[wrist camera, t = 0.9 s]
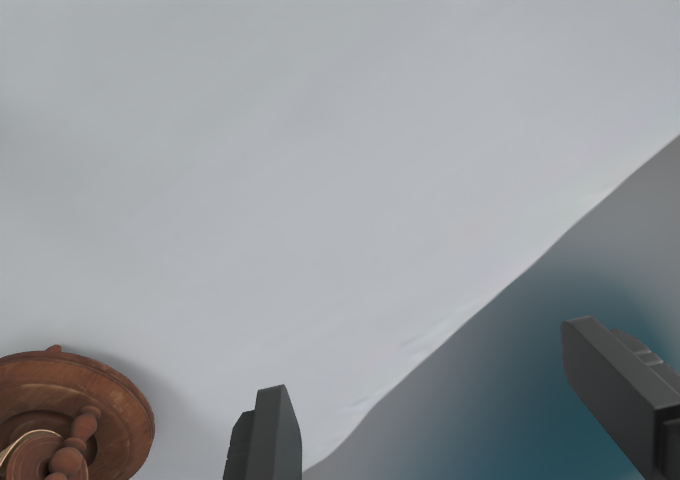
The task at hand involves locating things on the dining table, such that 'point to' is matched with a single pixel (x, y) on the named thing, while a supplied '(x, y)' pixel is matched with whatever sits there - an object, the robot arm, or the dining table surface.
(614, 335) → the robot arm
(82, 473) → the scroll
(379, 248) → the dining table surface
